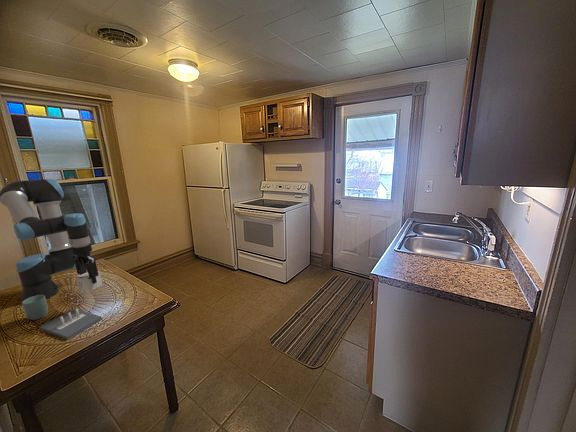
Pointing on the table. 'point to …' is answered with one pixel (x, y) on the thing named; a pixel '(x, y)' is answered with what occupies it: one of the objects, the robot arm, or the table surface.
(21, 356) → the table surface
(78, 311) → the board
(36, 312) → the cup
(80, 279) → the housing
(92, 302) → the table surface
